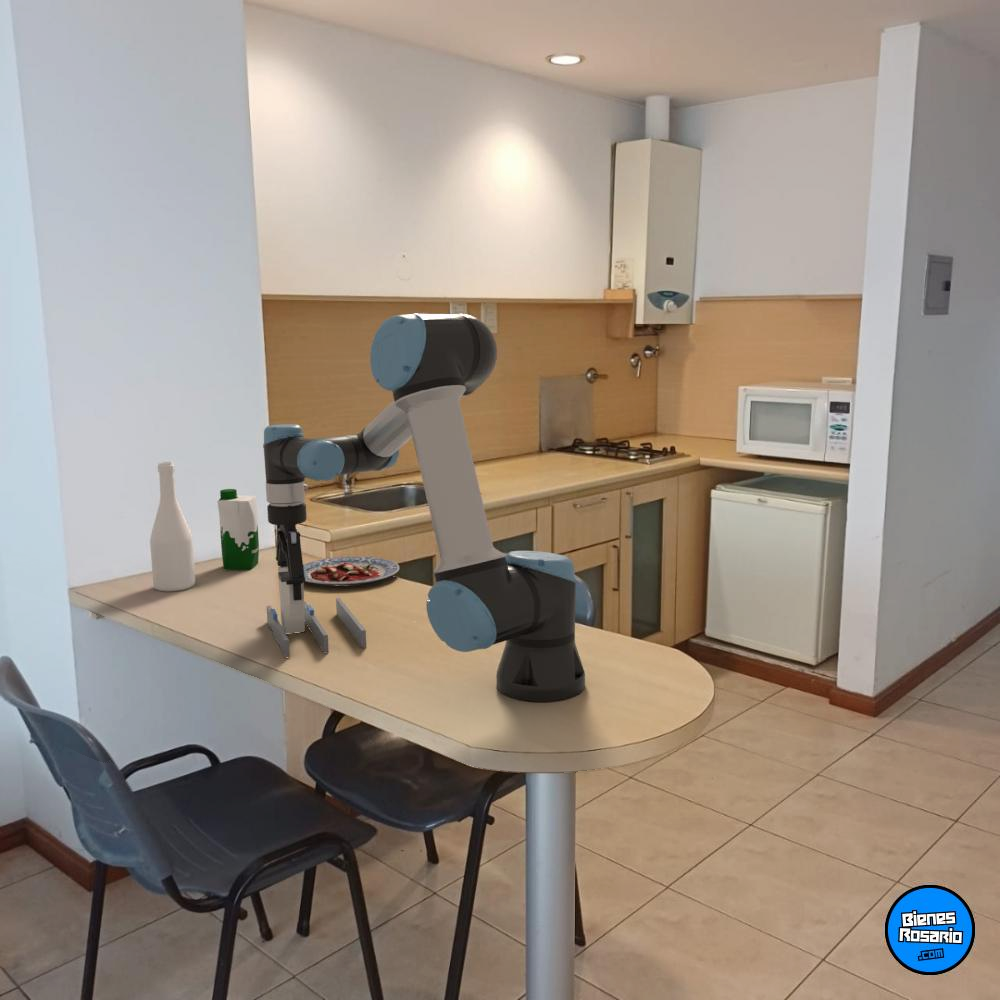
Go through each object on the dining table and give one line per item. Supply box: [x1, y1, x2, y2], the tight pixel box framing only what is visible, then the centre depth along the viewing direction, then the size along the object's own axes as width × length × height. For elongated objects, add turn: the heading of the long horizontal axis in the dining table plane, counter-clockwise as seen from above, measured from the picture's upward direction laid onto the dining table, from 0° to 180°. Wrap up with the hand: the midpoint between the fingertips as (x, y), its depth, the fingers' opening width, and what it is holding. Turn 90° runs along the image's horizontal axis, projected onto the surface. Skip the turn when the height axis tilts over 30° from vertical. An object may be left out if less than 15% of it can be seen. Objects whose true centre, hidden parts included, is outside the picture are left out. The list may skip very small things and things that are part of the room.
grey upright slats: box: [266, 597, 367, 658], centre depth 193 cm, size 24×15×4 cm, turn 21°
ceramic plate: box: [303, 556, 400, 586], centre depth 238 cm, size 26×26×3 cm
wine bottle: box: [149, 461, 196, 592], centre depth 227 cm, size 10×10×30 cm
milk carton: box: [217, 488, 260, 571], centre depth 247 cm, size 9×9×20 cm
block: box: [277, 571, 306, 634], centre depth 195 cm, size 4×4×12 cm
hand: (291, 606), depth 195 cm, fingers open, 13 cm apart
